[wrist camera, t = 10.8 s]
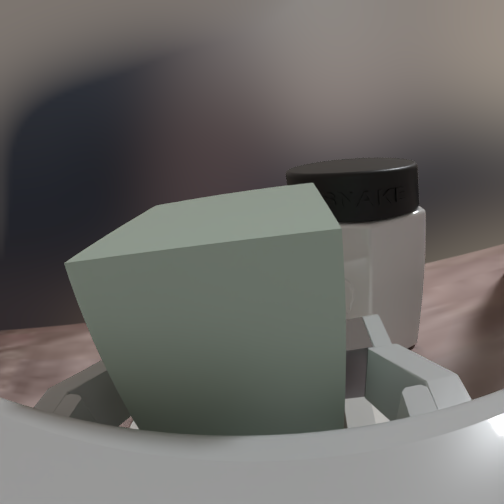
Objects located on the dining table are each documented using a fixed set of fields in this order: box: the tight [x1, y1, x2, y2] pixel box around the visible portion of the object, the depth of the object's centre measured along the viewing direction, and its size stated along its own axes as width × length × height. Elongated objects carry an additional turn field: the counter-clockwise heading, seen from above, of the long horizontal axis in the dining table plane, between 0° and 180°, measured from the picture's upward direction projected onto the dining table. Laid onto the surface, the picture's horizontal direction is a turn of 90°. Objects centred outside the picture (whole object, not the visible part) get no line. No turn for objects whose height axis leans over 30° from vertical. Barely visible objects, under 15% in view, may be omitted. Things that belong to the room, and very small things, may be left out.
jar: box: [286, 158, 426, 349], centre depth 20 cm, size 9×8×12 cm
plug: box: [64, 183, 346, 436], centre depth 9 cm, size 5×5×11 cm
